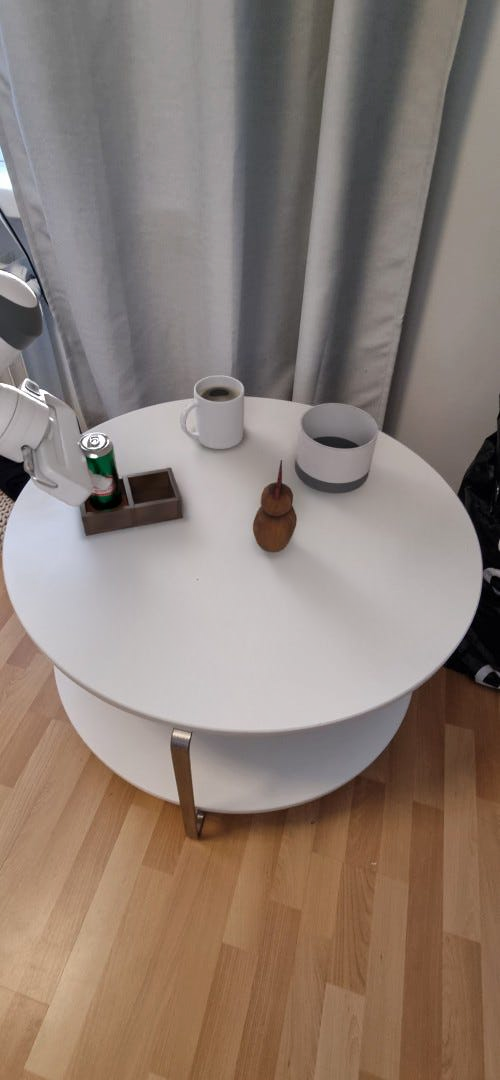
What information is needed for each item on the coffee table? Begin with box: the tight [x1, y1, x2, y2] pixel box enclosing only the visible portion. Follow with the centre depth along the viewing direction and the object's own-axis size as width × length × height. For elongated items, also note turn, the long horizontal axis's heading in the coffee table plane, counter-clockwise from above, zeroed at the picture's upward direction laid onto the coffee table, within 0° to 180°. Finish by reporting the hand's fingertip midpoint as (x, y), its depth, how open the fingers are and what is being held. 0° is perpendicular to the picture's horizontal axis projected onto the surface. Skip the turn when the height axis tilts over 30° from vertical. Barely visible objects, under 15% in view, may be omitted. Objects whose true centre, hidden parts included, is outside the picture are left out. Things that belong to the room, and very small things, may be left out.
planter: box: [294, 402, 380, 494], centre depth 99 cm, size 13×13×10 cm
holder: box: [79, 467, 184, 537], centre depth 94 cm, size 15×8×4 cm, turn 107°
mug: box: [179, 374, 245, 450], centre depth 106 cm, size 11×10×10 cm
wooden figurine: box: [252, 459, 298, 553], centre depth 86 cm, size 7×6×15 cm
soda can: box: [79, 432, 122, 511], centre depth 88 cm, size 5×5×12 cm
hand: (103, 470), depth 88 cm, fingers closed on soda can, 5 cm apart
